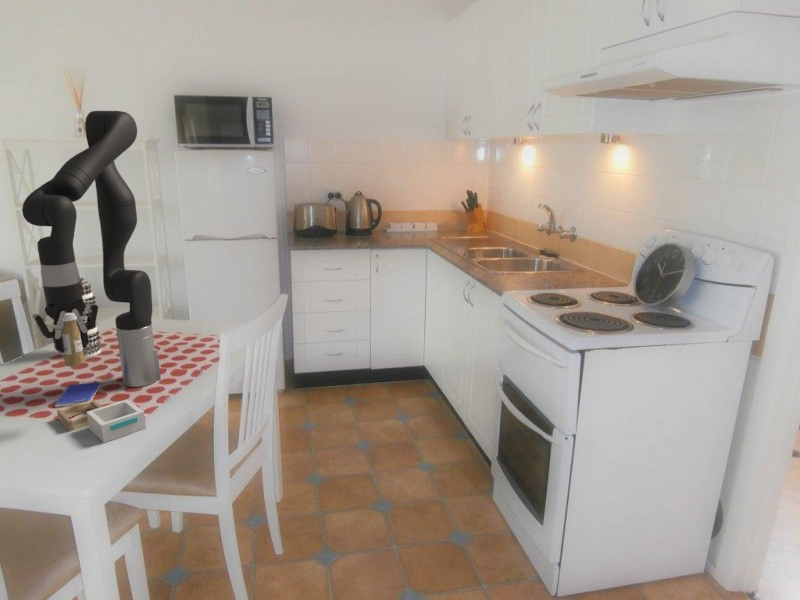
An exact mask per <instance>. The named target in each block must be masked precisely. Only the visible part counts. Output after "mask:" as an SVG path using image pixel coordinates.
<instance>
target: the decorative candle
mask: <svg viewBox="0 0 800 600" xmlns="http://www.w3.org/2000/svg"><path fill="white" fill-rule="evenodd" d="M91 284H92V282H90V281H89V280H88V279H87V278H83V277H80V285H81V292H82V298H83V301H84V303H85V304H91V303H94V304H95V305H96V302H97V301H95V299H96V296H94V294H93V291H92V285H91ZM87 316H88V312H87V311H86V308H85V310H84V311H83V313H82V315H81V318H82V320H83V322H84V324H86V322H87ZM96 319H97V317H96ZM99 334H100V331H99V330H98V325H97V322H96V323H95V327H94V328H93V329H90V330H88V332H87V335H88V341H89V343H88V344H87V347H85V348H83V353H84V358H85V359H86V358H90V357H94V356H97V355H100V354H101V353H102V345H101V340H100V337H101V336H100V335H99Z"/></svg>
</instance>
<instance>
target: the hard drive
mask: <svg viewBox="0 0 800 600" xmlns="http://www.w3.org/2000/svg"><path fill="white" fill-rule="evenodd" d="M101 386H102V385H101V382H90V383H79V384H78V383H77V384H69V385H68V386H67V387H66V389H65V391H64V392H63V393H62V394H61V395H60V397H59V399H57V401H56V402H55V403H54V407H55V408H62V407H61V406H66V407H71V405H77V404H81V403H84V402H88V401H91V400H94V398H93V397H95V396H96V394H97V393H96V392H98V391H99V389H100V388H101ZM94 395H95V396H94Z"/></svg>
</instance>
